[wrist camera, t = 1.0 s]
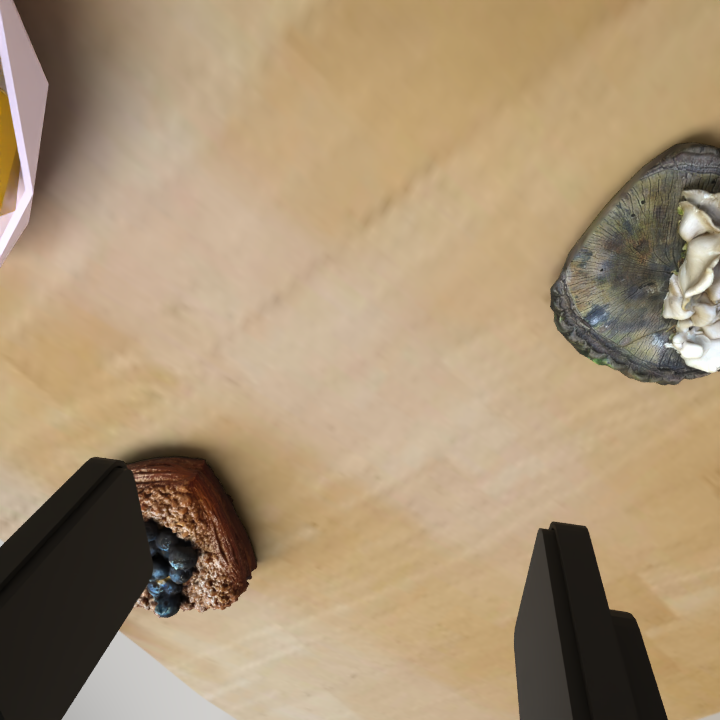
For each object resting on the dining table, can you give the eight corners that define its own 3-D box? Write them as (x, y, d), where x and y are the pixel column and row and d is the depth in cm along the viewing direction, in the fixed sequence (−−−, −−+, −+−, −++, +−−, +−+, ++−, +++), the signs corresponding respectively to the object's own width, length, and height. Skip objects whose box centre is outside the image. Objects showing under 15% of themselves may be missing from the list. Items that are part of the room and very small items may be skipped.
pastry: (155, 581, 44) (113, 647, 39) (80, 463, 39) (21, 520, 34) (275, 569, 40) (247, 639, 35) (209, 439, 36) (165, 498, 31)
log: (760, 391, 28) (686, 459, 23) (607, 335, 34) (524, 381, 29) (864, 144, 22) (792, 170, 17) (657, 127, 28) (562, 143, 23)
